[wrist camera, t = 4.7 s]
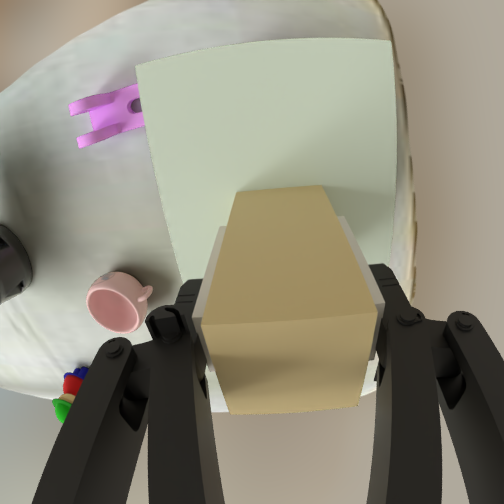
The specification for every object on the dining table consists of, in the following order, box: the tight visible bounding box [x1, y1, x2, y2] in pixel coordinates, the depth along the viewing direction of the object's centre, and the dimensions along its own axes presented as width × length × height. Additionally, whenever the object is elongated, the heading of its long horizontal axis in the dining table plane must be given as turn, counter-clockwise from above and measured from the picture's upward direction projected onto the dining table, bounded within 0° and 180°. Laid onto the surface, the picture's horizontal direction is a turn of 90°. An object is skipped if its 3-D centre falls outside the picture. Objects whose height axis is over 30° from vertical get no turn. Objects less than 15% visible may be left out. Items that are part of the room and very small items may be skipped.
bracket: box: [68, 83, 145, 149], centre depth 31 cm, size 13×6×7 cm, turn 100°
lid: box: [135, 38, 397, 415], centre depth 14 cm, size 13×20×12 cm, turn 7°
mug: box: [86, 272, 153, 333], centre depth 46 cm, size 12×10×6 cm
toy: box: [52, 367, 89, 423], centre depth 57 cm, size 9×9×15 cm
